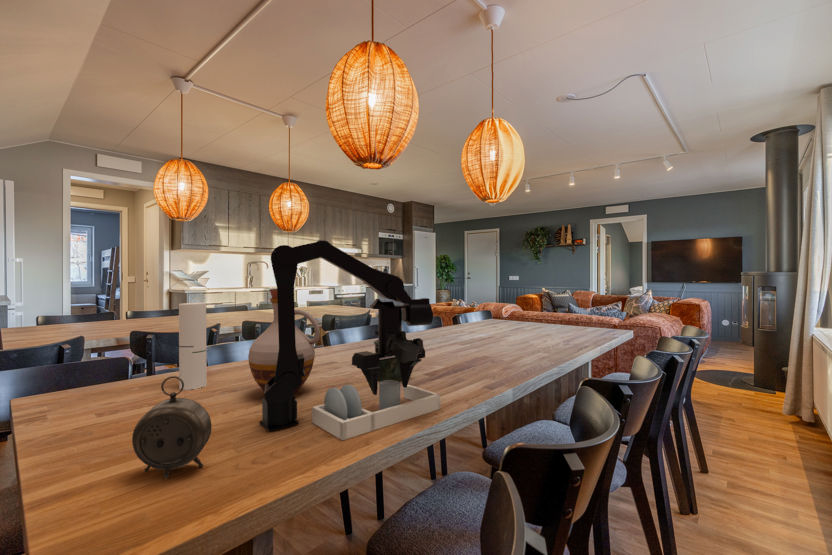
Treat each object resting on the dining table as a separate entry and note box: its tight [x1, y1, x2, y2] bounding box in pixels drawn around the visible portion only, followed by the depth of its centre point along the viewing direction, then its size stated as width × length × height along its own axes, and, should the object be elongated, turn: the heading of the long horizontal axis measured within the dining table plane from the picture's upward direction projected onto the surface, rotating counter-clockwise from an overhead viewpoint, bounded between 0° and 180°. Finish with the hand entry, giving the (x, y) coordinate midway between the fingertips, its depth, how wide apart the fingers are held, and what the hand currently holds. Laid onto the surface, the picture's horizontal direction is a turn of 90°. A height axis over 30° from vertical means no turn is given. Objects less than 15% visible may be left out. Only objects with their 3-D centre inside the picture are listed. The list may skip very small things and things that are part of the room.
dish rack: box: [311, 384, 442, 441], centre depth 92 cm, size 28×13×9 cm, turn 132°
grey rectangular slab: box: [378, 380, 401, 411], centre depth 95 cm, size 5×5×7 cm
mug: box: [373, 339, 402, 382], centre depth 125 cm, size 11×15×12 cm
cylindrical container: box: [178, 302, 208, 391], centre depth 117 cm, size 7×7×25 cm
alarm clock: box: [131, 375, 212, 479], centre depth 65 cm, size 11×5×16 cm, turn 102°
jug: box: [247, 286, 321, 395], centre depth 111 cm, size 20×18×30 cm
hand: (390, 390), depth 95 cm, fingers open, 9 cm apart
